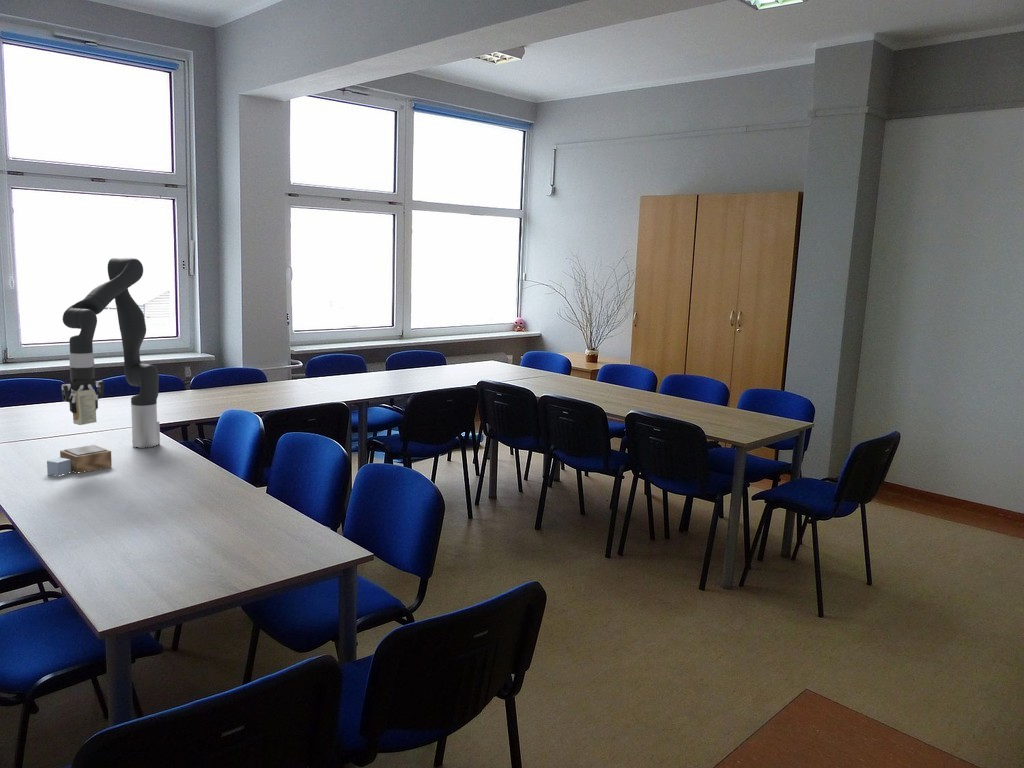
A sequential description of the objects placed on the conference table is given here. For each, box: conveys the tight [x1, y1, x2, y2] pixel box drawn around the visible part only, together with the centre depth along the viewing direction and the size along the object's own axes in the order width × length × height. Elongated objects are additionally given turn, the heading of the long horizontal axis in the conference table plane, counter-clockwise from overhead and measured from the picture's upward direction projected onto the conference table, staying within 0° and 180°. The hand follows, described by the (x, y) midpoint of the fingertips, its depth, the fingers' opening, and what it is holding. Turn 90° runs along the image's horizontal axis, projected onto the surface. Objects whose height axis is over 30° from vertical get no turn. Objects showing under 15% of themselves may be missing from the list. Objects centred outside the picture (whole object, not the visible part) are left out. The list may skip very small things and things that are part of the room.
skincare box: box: [70, 388, 97, 426], centre depth 268 cm, size 6×4×12 cm
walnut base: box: [59, 444, 113, 474], centre depth 271 cm, size 12×12×6 cm
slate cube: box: [46, 457, 72, 477], centre depth 262 cm, size 5×5×5 cm
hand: (84, 411), depth 268 cm, fingers closed on skincare box, 6 cm apart
